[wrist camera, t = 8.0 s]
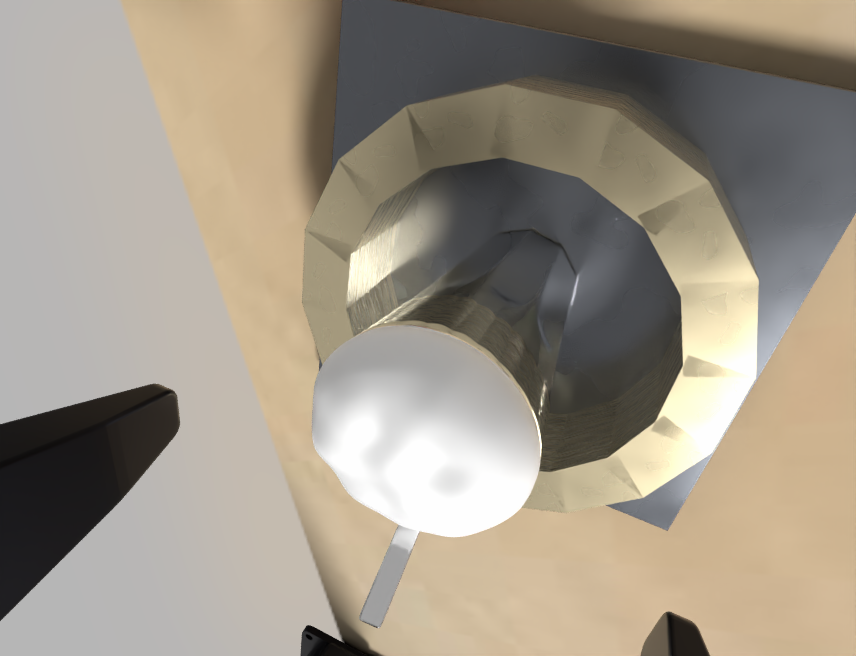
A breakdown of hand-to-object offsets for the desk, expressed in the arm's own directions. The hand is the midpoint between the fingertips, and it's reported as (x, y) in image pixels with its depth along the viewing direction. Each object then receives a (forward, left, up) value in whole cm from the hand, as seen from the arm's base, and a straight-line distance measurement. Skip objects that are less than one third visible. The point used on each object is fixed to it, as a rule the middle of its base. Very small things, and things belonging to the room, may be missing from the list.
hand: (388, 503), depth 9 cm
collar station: (0, 0, -11) cm, 11 cm away
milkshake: (0, 0, -10) cm, 10 cm away
